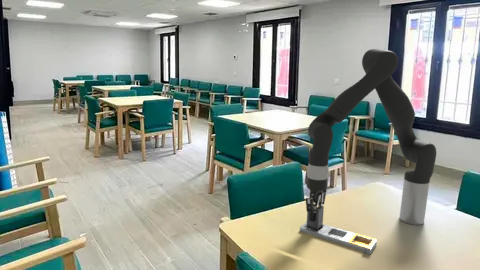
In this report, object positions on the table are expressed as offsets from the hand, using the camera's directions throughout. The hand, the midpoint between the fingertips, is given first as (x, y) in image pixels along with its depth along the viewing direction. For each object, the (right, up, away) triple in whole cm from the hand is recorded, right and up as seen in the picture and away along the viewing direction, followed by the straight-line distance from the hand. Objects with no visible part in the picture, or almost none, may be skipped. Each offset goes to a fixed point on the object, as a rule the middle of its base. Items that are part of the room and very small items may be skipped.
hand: (315, 218), depth 136 cm
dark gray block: (0, -3, +1) cm, 3 cm away
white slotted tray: (+7, -6, -4) cm, 10 cm away
